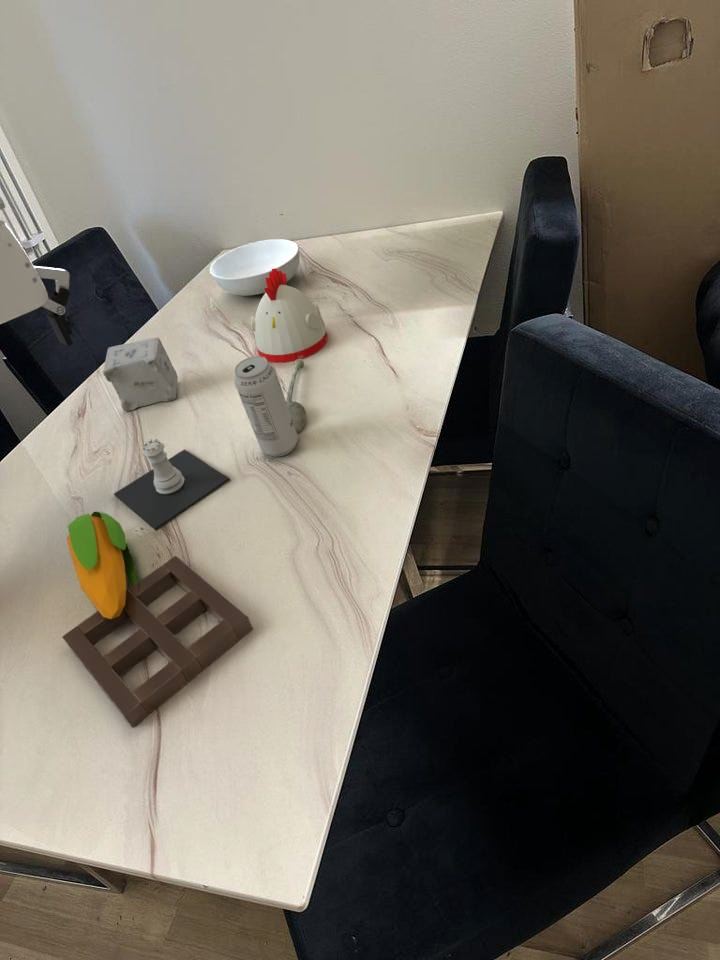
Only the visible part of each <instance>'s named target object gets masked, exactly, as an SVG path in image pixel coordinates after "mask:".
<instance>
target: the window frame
mask: <svg viewBox="0 0 720 960" xmlns="http://www.w3.org/2000/svg"><path fill="white" fill-rule="evenodd" d="M176 584H177V585H178V586H179V587H180V588H181V589H183V591H185V592H186V594H185V595H184V596H182V597H180V599H178V600H177V601H176V602H174V603H173V604H172V605H170V606H169V607H168V608H166V609H165V610H163V611H162V612H161V613H159V614H158V615H157V616H156V615H155V614H154V613H153V612H152V611H151V610H150V609H149V608H148V607H147V606H148V605H149V604H151V603H152V602H153V601H154V600H156V599H157V598H159V597H160V596H161V595H163V594H164V593H165V592H167V591H168V590H169V589H171V588H172V587H174V586H175V585H176ZM138 589H139V590H138ZM206 611H207V612H208V613H209V614H210V615H211V616H212V617H213V618H214V619H216V620H217V621H218V623H217V624H216V625H215V626H214V627H212V628H211V629H210V630H208V631H207V632H206V633H205V634H204V635H202V636H201V637H200V638H198V639H197V640H196V641H194V642H193V643H192V644H191V645H190V646H188V647H187V646H185V644H183V643H182V641H180V639H178V637H176V634H177V633H178V632H180V631H181V630H182V629H184V628H185V627H186V626H188V625H189V624H190V623H192V622H193V621H194V620H195V619H197V617H199V616H200V615H202V614H203V613H204V612H206ZM127 620H130V622H131V623H132V624H134V626H135V627H136V628H137V629H138V630H136V632H134V633H133V634H132V635H130V636H128V638H125V640H123V641H122V642H121V643H120V644H118V645H117V646H116V647H114V648H113V649H112V650H110V651H109V652H107V653H106V654H105V655H102V654H101V653H100V651H99V650H98V649H97V648H96V646H94V645H95V644H96V643H97V642H99V641H100V640H101V639H103V638H104V637H106V636H107V635H108V634H109V633H111V632H112V631H114V630H115V629H116V628H118V627H119V626H120V625H122V624H123V623H124V622H126V621H127ZM252 630H254V627H253V626H252V624H251V622H250V618H249V617H248V616H247V614H245V613H244V612H243V611H242V610H240V609H239V607H237V606H236V605H235V604H233V603H232V602H231V601H230V600H229V599H227V597H225V596H224V595H223V594H221V593H220V592H219V591H218V590H217V589H216V588H215V587H213V586H212V585H211V584H210V583H208V582H207V581H206V580H205V578H203V577H202V576H200V574H198V573H197V572H196V571H195V570H194V569H192V568H191V567H190V566H189V565H188V564H187V563H186V562H184V561H183V560H182V559H181V558H180V557H178V556H177V555H174V556H173V557H171V558H170V559H169V560H167V561H166V562H164V563H163V564H162V565H160V566H159V567H158V568H157V569H155V570H153V571H152V572H151V573H149V574H148V575H146V576H145V577H144V578H142V579H140V580H138V583H137V584H135V585H134V586H132V587H129V588H128V589H126V599H125V606H124V608H123V610H122V612H121V614H120V616H118V617H115V618H112V619H109V618H105V617H103V616H102V615H101V614H100V612H99V611H98V610H97V611H96V612H94V613H93V614H91V615H90V616H89V617H87V618H86V619H84V620H83V621H82V622H80V623H79V624H78V625H76V626H75V627H73V628H72V629H70V630H69V631H68V632H66V633H65V634H64V635H62V639H63V640H64V642H65V643H66V645H67V646H68V647H69V648H70V649H71V651H72V652H73V653H74V655H75V657H77V658H78V660H79V661H80V662H81V664H82V665H83V666H84V668H85V669H86V671H88V673H89V674H90V675H91V677H92V678H93V679H94V681H95V682H96V683H97V684H98V686H99V687H100V688H101V690H102V691H103V692H104V693H105V695H106V696H107V697H108V699H109V700H110V701H111V703H112V704H113V705H114V707H115V708H116V709H117V711H119V713H120V714H121V715H122V717H123V718H124V719H125V721H126V722H127V723H128V724H129V726H130V727H131V728H134V727H135V726H136V725H138V724H139V723H140V722H141V721H142V720H143V719H145V718H146V717H148V716H149V714H151V713H152V712H154V711H155V710H156V709H157V708H159V706H161V705H162V704H163V703H164V702H165V701H167V700H168V699H169V698H170V697H172V696H173V695H174V694H175V693H176V692H178V691H179V690H180V689H181V688H183V687H184V686H185V685H186V684H187V683H189V682H191V680H192V679H194V678H195V677H196V676H197V675H198V674H200V673H201V672H202V671H203V670H204V669H206V668H208V666H210V665H211V664H212V663H213V662H214V661H216V660H217V659H218V658H219V657H220V656H221V655H223V654H224V653H225V652H226V651H228V650H229V649H230V648H232V646H233V645H235V644H236V643H237V642H238V641H239V640H241V639H242V638H244V637H245V636H246V635H247V634H248V633H249V632H251V631H252ZM156 649H157V651H158V652H159V653H161V654H162V656H163V657H164V658H165V659H166V660H167V661H168V663H167V664H166V665H164V666H163V667H162V668H161V669H159V670H158V671H157V672H156V673H154V674H153V675H152V676H151V677H148V679H147V680H146V681H144V682H143V683H142V684H140V685H139V686H138V687H136V689H134V690H133V691H131V690H130V688H129V687H128V686H127V685H126V683H125V682H124V681H123V679H122V678H121V677H122V676H123V675H125V673H127V672H128V671H130V670H131V669H132V668H133V667H135V666H136V665H137V664H139V663H140V662H141V661H142V660H144V659H145V658H146V657H147V656H149V655H150V654H152V653H153V652H154V651H155V650H156Z"/></svg>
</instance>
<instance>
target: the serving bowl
mask: <svg viewBox="0 0 720 960" xmlns="http://www.w3.org/2000/svg"><path fill="white" fill-rule="evenodd" d="M300 259H301V256H300V248H299V244H297V243H296V242H294V241H293V240H289V239H283V238H282V239H281V238H279V239H278V238H277V239H265V240H259V241H255V242H250V243H247V244H243V245H241V246H238V247H235V248H233V249H231V250H228V251H227V252H225V253H223V254H222V255H220V256H218V257H217V258H216V259H214V261H213V262H212V263H211V265H210V267H209V273H210V275H211V277H212V280H213V281H214V283H216V285H217V286H218V287H219V288H220V289H222V290H223V291H225V292H227V293H229V294H232V295H236V296H246V297H247V296H255V295H261V294H265V293H266V292H265V290H264V288H268V287H267V284H266V280H265V278H270V277H269V272H272V269H275V268H276V269H277V271H280V270H281V271H282V273H286V281H287V283H288V282H289V281H290V280H291V279H292V278H293V277H294V276H295V274H296V273H297V271H298V269H299V266H300Z"/></svg>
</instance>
